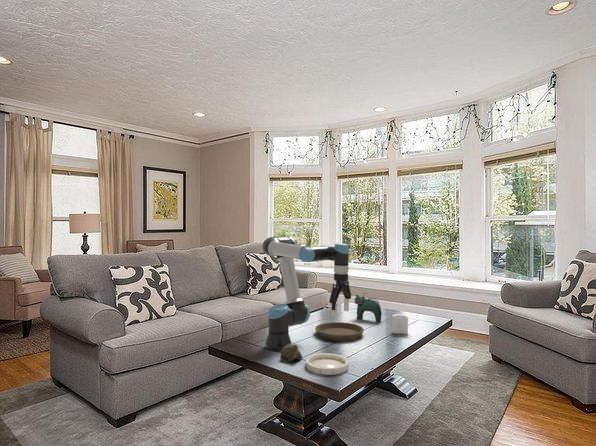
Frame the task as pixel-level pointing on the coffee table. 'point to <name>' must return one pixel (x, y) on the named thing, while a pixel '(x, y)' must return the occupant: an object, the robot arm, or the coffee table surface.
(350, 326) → the plant saucer
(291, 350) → the fossil
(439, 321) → the coffee table surface
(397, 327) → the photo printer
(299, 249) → the robot arm
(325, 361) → the round tray
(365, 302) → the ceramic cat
